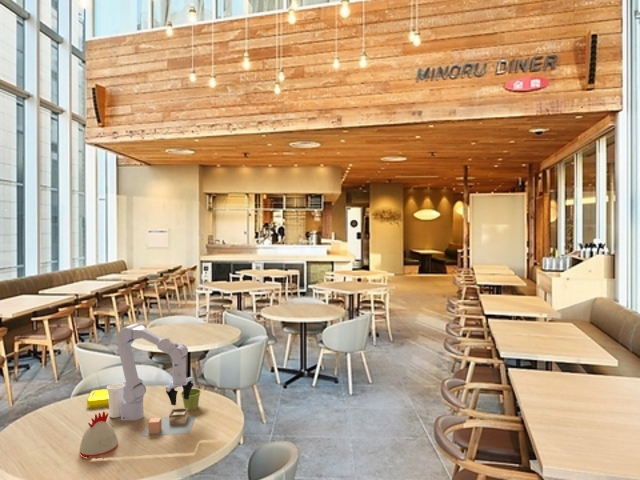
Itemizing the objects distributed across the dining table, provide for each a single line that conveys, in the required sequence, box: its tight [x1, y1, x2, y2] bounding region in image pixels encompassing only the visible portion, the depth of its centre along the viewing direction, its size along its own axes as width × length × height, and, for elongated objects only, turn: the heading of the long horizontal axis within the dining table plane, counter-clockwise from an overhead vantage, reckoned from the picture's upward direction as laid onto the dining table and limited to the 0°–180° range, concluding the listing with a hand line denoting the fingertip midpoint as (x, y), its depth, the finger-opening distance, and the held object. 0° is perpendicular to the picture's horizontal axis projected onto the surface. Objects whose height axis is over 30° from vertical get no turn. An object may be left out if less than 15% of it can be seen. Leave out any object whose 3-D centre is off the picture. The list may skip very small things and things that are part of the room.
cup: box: [106, 382, 125, 419], centre depth 220 cm, size 8×8×14 cm
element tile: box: [86, 388, 109, 409], centre depth 238 cm, size 15×15×5 cm
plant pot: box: [180, 388, 202, 411], centre depth 226 cm, size 9×9×9 cm
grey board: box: [140, 415, 197, 437], centre depth 206 cm, size 20×18×1 cm
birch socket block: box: [168, 407, 189, 424], centre depth 212 cm, size 7×7×4 cm
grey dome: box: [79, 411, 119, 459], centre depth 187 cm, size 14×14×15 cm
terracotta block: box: [147, 417, 162, 434], centre depth 201 cm, size 4×4×5 cm
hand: (180, 401), depth 211 cm, fingers open, 7 cm apart
